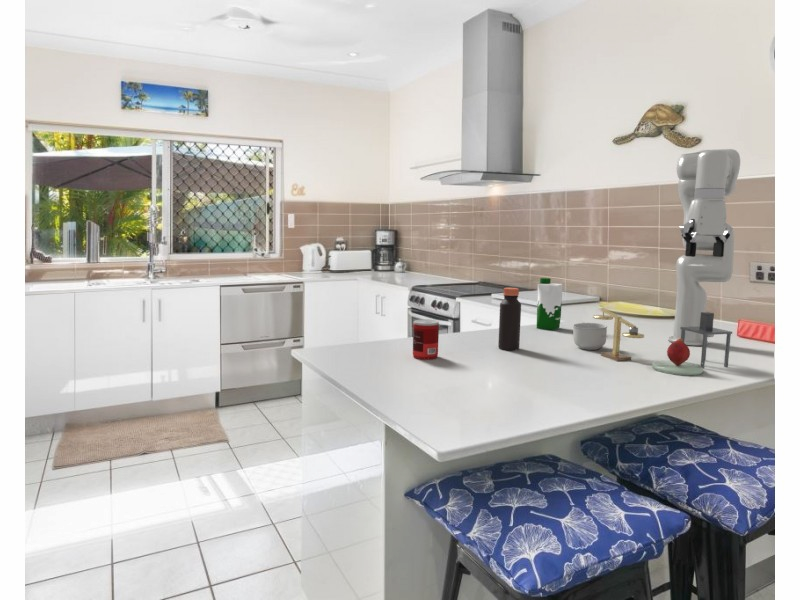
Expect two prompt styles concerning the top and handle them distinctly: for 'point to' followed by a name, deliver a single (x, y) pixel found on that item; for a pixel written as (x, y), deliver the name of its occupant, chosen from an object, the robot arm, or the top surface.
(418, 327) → the canned food
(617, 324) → the balance
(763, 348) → the top surface
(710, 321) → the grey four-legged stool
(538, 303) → the milk carton
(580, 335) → the teacup
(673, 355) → the onion
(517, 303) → the bottle
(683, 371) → the dish
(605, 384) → the top surface
